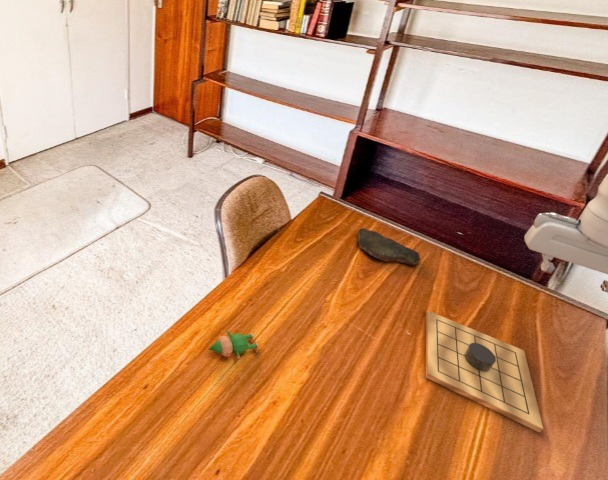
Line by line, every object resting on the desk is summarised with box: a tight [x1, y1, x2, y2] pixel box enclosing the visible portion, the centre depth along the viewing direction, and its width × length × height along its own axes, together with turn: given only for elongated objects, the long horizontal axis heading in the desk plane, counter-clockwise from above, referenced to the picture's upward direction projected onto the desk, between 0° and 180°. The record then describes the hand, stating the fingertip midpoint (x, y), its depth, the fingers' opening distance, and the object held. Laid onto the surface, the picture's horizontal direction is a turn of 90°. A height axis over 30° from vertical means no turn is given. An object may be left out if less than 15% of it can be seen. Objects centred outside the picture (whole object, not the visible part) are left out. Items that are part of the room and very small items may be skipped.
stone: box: [357, 227, 421, 266], centre depth 124 cm, size 18×11×3 cm, turn 49°
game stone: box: [464, 343, 496, 372], centre depth 92 cm, size 5×5×3 cm
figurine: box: [208, 329, 259, 360], centre depth 93 cm, size 4×7×12 cm
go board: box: [425, 310, 544, 434], centre depth 93 cm, size 20×20×2 cm
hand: (575, 280), depth 83 cm, fingers open, 8 cm apart
